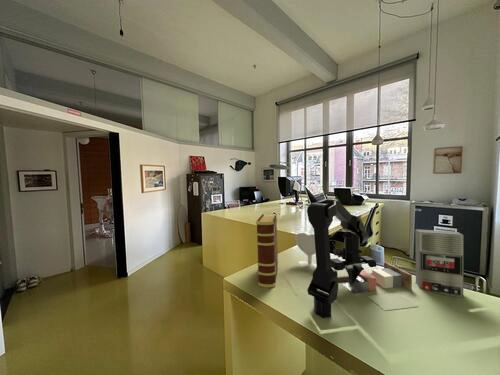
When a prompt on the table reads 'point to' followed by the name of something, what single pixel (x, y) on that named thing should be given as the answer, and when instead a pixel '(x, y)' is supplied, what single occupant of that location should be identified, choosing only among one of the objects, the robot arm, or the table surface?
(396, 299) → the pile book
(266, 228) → the decorative book
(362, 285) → the bookend
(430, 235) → the cassette tape recorder
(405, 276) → the shelf
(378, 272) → the cream rectangular block
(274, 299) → the table surface
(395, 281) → the book
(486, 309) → the table surface
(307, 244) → the heart sculpture
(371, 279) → the salmon pink box
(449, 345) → the table surface
